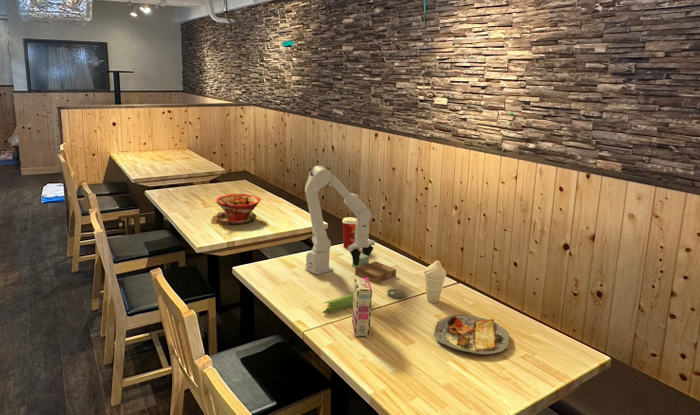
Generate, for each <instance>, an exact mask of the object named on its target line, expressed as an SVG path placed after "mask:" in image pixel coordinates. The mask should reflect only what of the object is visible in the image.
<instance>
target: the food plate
mask: <svg viewBox="0 0 700 415" xmlns="http://www.w3.org/2000/svg"><path fill="white" fill-rule="evenodd" d="M470 332H471V333H472V334H471V333H470ZM433 336H434V338H435V339H436V341H437V342H439V343H441V344H443V345H446V346H448V347H449V348H451V349H454V350H458V351H460V352H461V351H462V352H467V353H470V354H477V355H478V354H479V355H490V354H496V353H500V352H503V351H505V350H506V349H508V347H509V344H510V343H509V342H510V341H509V339H510V338H509V337H510V336H509V332H508V331H507V330H506V328H504V327H502V326H501V325H500V324H498V323H497V322H495V320H494V319H492V318H491V319H486V318H482V317H478V316H475V315H469V314H467V315H465V314H459V315H458V314H457V315H455V314H454V315H448V316H446V317H444V318H440V319H439V320H438V321H437V322H436V326H435V329H434V332H433ZM471 336H472V337H471ZM449 338H450V339H449ZM456 340H457V341H456ZM471 340H473V341H471ZM474 340H475V341H474ZM451 341H453V342H455V341H456V345H455V344H454V343H452V342H451ZM470 341H471V342H472V343H473V342H474V345H475V346H474V345H473V348H474V347H475V349H476V350H475V349H469V348H470V346H471V344H470ZM460 346H461V347H460ZM462 347H463V348H462ZM468 347H469V348H468Z"/></svg>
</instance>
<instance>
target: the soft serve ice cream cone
mask: <svg viewBox="0 0 700 415" xmlns="http://www.w3.org/2000/svg"><path fill="white" fill-rule="evenodd" d="M423 270H424V271H423V274H424V280H425V282H424V284H425V285H424V288H425V293H426V300H427V302H429V303H432V304H438V303H439V300H440V297H441V293H442V292H443V289H444V287H443V286H444V282H445V279H446V278H447V272H446V270H445V269H444V267H442V263H441V261H440V260H436V261H435V260H434V262H433V263H432V264H430V265H429V266H426V267H425V269H423Z"/></svg>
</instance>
